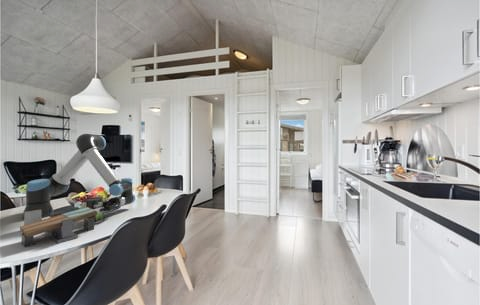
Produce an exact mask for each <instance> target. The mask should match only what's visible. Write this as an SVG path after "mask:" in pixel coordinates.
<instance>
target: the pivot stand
mask: <svg viewBox="0 0 480 305" xmlns="http://www.w3.org/2000/svg"><path fill="white" fill-rule="evenodd" d="M61 214H62V212H54V213H53V214H51V215H50V217H54V216H57V215H61ZM83 229H85V231H88V232H89V231H92V230H95V223H94V217H93V216H91V217H88V218H85V219H84V223H83ZM44 234H45V235H46V236H47V237H49V238H50V239H51V240H52V241H53V242H54V243H56V244H60V243H64V242H68V241H71V240H75V239H78V237H79V236H78V235H79V234H76V233H75V232H74V231H73V223H72V218H70V219H65V220H61V227H58V228H55V229H52V230H49V231H46V232H44ZM34 240H35V239H34V236H32V237H29V238H27V237H26V236H25V235H24V234H23V233H22V232H21V244H22V246H23V247H24V248H25V247H30V246H34Z"/></svg>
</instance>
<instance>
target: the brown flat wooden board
mask: <svg viewBox="0 0 480 305" xmlns="http://www.w3.org/2000/svg"><path fill="white" fill-rule="evenodd" d="M80 208H81V207H80ZM94 215H97V211H96V210H93V209H91V208H88V207H84V208H81V209H79V208H78V209H75V210H72V211H67V212H64V213H61V215H57V216H54V217H51V216H49V217H48V218H44V219H42V220H40V221H37V222H34V223H30V224H27V225H24V224H23V225H21V226H19V229H20V232H21V234H22V233H23V234H24V235H25V236H26V237H27V238H29V237H32V236H37V235H41V234H43V233H44V234H45V232H46V231H49V230H52V229H55V228H58V227H61V220H65V219H70V218H72V224H73V223H76V222H79V221H83V219H85V218H88V217H91V216H94Z"/></svg>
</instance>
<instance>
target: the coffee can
mask: <svg viewBox="0 0 480 305" xmlns="http://www.w3.org/2000/svg"><path fill="white" fill-rule="evenodd" d="M103 202H104V197H102V196H92V197H87V198H83V199H82V207H83V208H84V207H88V208H91V209H93V210H94V209H97V208H100V207H103ZM103 215H104V211H103V212H100V213H97V215H94V216H93V217H94V224H98V223H101V222H103V221H104V216H103ZM82 224H84V219H82Z"/></svg>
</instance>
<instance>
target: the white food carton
mask: <svg viewBox="0 0 480 305" xmlns="http://www.w3.org/2000/svg"><path fill="white" fill-rule="evenodd" d="M23 212H24V211H23ZM40 220H43V218H42V214H41V210H35V211H28V212H24V219H23V221H24V222H23V226H24V225H27V224H30V223H34V222H37V221H40Z"/></svg>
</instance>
